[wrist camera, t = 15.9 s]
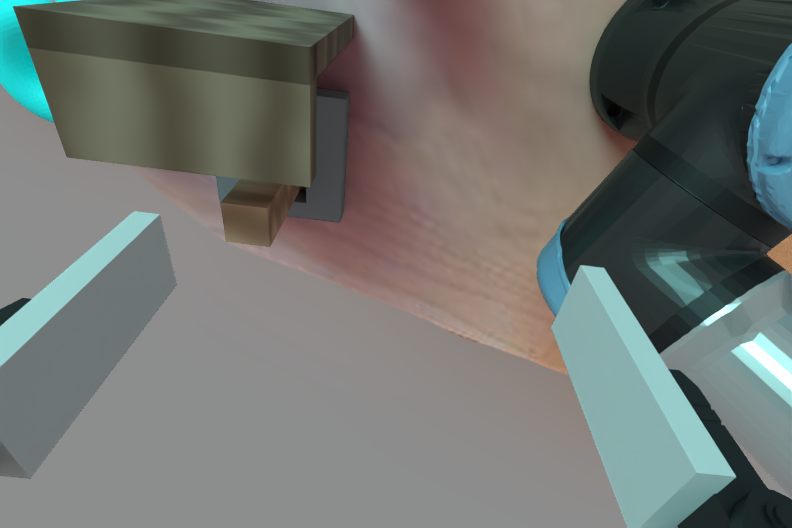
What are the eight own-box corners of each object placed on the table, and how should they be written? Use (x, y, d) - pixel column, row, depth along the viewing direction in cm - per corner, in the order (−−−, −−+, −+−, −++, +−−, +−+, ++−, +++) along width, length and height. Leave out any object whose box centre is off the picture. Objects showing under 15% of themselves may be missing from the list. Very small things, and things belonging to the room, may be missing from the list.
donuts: (47, -21, 30) (130, 116, 36) (126, -23, 38) (183, 89, 44) (-60, 17, 32) (34, 142, 37) (37, 7, 40) (103, 111, 45)
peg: (303, 182, 49) (270, 246, 38) (269, 178, 49) (226, 241, 38) (303, 150, 47) (267, 208, 36) (267, 146, 47) (220, 202, 36)
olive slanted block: (353, 15, 39) (309, 47, 23) (349, 107, 44) (310, 187, 28) (182, -10, 39) (12, 6, 22) (197, 87, 43) (66, 157, 27)
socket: (349, 92, 43) (345, 99, 41) (343, 210, 51) (340, 222, 49) (214, 74, 43) (202, 80, 40) (230, 196, 51) (220, 208, 48)
